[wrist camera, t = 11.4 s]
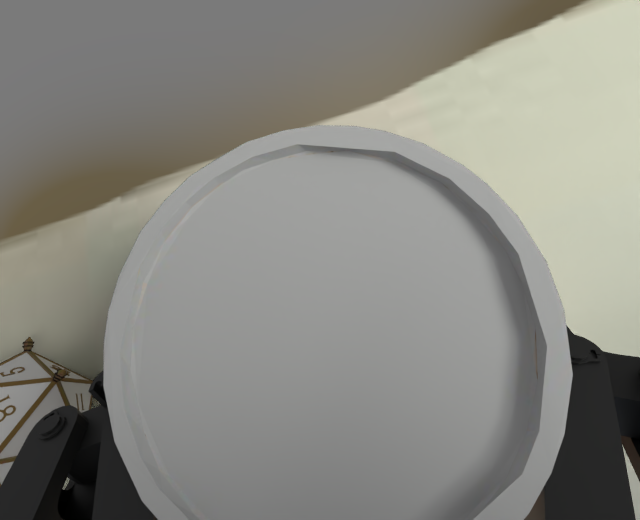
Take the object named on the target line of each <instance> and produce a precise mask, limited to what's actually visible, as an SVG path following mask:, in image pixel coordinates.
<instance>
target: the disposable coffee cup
mask: <svg viewBox="0 0 640 520" xmlns="http://www.w3.org/2000/svg"><path fill="white" fill-rule="evenodd" d="M572 377H573V372H572V364H571V357H570V349H569V342H568V335H567V327H566V320H565V312H564V308H563V305H562V303H561V300H560V297H559V294H558V292H557V289H556V286H555V284H554V281H553V278H552V275H551V273H550V270H549V267H548V264H547V262H546V260H545V258H544V257H543V255H542V254H541V252H540V250H539V249H538V247H537V246H536V244H535V243H534V241H533V239H532V238H531V236H530V235H529V233H528V231H527V230H526V228H525V227H524V225H523V223H522V222H521V220H520V219H519V217H518V215H517V214H516V213H515V212H514V211H513V210H512V209H511V208H510V207H509V206H508V205H507V204H506V203H505V202H504V201H503V200H502V199H501V198H500V197H499V196H498V195H497V194H496V193H495V192H494V191H493V190H492V189H491V188H490V186H489V185H488V184H486V183H485V182H484V181H483V180H481V179H480V178H479V177H478V176H476V175H475V174H474V173H472V172H471V171H470V170H469V169H467V168H466V167H465V166H464V165H462V164H460V163H458V162H456V161H455V160H453V159H451V158H449V157H447V156H445V155H444V154H442V153H440V152H438V151H436V150H435V149H433V148H431V147H429V146H427V145H425V144H424V143H420V142H417V141H414V140H411V139H408V138H405V137H402V136H399V135H396V134H393V133H389V132H386V131H382V130H376V129H370V128H364V127H357V126H330V125H317V126H310V127H303V128H297V129H290V130H284V131H280V132H277V133H274V134H271V135H268V136H265V137H261V138H258V139H255V140H252V141H249V142H246V143H244V144H242V145H240V146H239V147H237V148H235V149H233V150H232V151H230V152H228V153H226V154H224V155H222V156H221V157H219V158H217V159H216V160H214V161H213V162H211V163H210V164H208V165H206V166H205V167H203V168H202V169H200V170H199V171H197V172H195V173H194V174H192V175H191V176H190V177H188V178H187V179H186V180H185V181H184V182H183V183H182V184H181V185H180V186H179V187H178V188H177V189H176V190H175V191H174V192H173V193H172V194H171V195H170V196H169V197H168V198H167V199H166V200H165V201H164V202H163V203H162V205H161V206H160V207H159V208H158V210H157V211H156V212H155V213H154V215H153V216H152V217H151V219H150V220H149V221H148V222H147V224H146V225H145V226H144V228H143V229H142V230H141V232H140V234H139V236H138V238H137V240H136V242H135V244H134V246H133V248H132V250H131V252H130V254H129V256H128V258H127V260H126V262H125V264H124V266H123V268H122V270H121V272H120V275H119V277H118V281H117V284H116V287H115V291H114V294H113V297H112V300H111V304H110V307H109V310H108V317H107V324H106V331H105V338H104V381H103V386H104V392H105V397H106V402H107V407H108V412H109V417H110V422H111V427H112V432H113V437H114V442H115V444H116V446H117V448H118V451H119V453H120V455H121V457H122V459H123V461H124V464H125V466H126V468H127V470H128V472H129V474H130V476H131V479H132V481H133V483H134V485H135V487H136V489H137V492H138V494H139V496H140V498H141V500H142V502H143V503H144V504H145V505H146V506H147V507H148V509H149V510H150V511H151V512H152V513H153V514H154V516H155V517H156V518H157V519H158V520H524V519H525V517H526V516H527V515H528V514H529V513H530V511H531V509H532V507H533V506H534V504H535V502H536V500H537V498H538V496H539V495H540V493H541V491H542V489H543V487H544V486H545V484H546V482H547V480H548V478H549V476H550V475H551V473H552V470H553V467H554V464H555V461H556V458H557V455H558V452H559V449H560V446H561V443H562V440H563V437H564V434H565V427H566V420H567V413H568V406H569V399H570V391H571V384H572Z"/></svg>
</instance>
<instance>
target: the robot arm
mask: <svg viewBox="0 0 640 520" xmlns="http://www.w3.org/2000/svg"><path fill="white" fill-rule="evenodd" d="M566 327H567V325H566ZM567 335H568V342H569V349H570V357H571V364H572V372H573V377H572V384H571V391H570V399H569V406H568V413H567V420H566V427H565V434H564V437H563V440H562V443H561V446H560V449H559V452H558V455H557V458H556V461H555V464H554V467H553V470H552V473H551V475H550V476H549V478H548V480H547V482H546V484H545V486H544V487H543V489H542V491H541V493H540V495H539V496H538V498H537V500H536V502H535V504H534V506H533V507H532V509H531V511H530V513H529V514H528V515H527V516H526V517H525V519H524V520H636V519H635V514H634V508H633V502H632V497H631V491H630V486H629V480H628V475H627V469H626V463H625V458H624V452H623V447H624V449H625V451H626V453H627V455H628V457H629V459H630V462H631V464H632V466H633V468H634V470H635V472H636V475H637V477H638V479H639V481H640V358H639V357H632V356H625V355H618V354H612V353H608V352H603V351H602V350H601V349H600V348H599V347H598V346H596V345H595V344H594V343H592V342H591V341H589V340H587V339H585V338H583V337H580V336H577V335H574V334H573V333H572V332H571V331H570V329H569V328H568V327H567ZM103 381H104V371H102V372H101V373H100V374H99V375H98V376H97V377H96V378H95V380H94V381H93V382H92V383H91V386H90V388H89V391H88V392H89V393H90V394H91V395H92V396H93V397H94V398H95V399H96V400H97V401H98V402H99V403H100V404H101V405H100V406H98V407H95V408H93V409H90V410H87V411H85V412H82V413H81V412H80V411H79V410H78V409H77V408H76V407H73V406H71V405H68V406H62V407H59V408H57V409H54V410H53V411H51V412H50V413H48V414H47V415H45V416H44V417H43V418H42V419H41V420H40V421H39V422H37V423H36V424H35V426H34V427H33V429H32V430H31V431H30V433H29V435H28V436H27V438H26V440H25V442H24V444H23V446H22V448H21V449H20V451H19V453H18V455H17V457H16V459H15V461H14V462H13V464H12V466H11V468H10V470H9V472H8V473H7V475H6V477H5V479H4V481H3V483H2V485H1V486H0V520H158V519H157V518H156V517H155V516H154V514H153V513H152V512H151V511H150V510H149V509H148V507H147V506H146V505H145V504H144V503H143V502H142V500H141V498H140V496H139V494H138V492H137V489H136V487H135V485H134V483H133V481H132V479H131V476H130V474H129V472H128V470H127V468H126V466H125V464H124V461H123V459H122V457H121V455H120V453H119V451H118V448H117V446H116V444H115V442H114V437H113V432H112V427H111V422H110V417H109V412H108V407H107V402H106V397H105V392H104V386H103ZM622 444H623V447H622ZM67 477H68V478H69V479H70V480H69V483H68V485H67V487H66V488H65V490H63V489H62V488H63V486H64V483H65V481H66V478H67Z"/></svg>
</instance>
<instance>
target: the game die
mask: <svg viewBox="0 0 640 520" xmlns="http://www.w3.org/2000/svg"><path fill="white" fill-rule="evenodd" d="M23 344H24V346H22V347H24V352H22V353H20V354H18V355H16V356H14V357H12V358H10V359H8V360H6V361H4V362H2V363H0V486H1V485H2V483H3V481H4V479H5V477H6V475H7V473H8V472H9V470H10V468H11V466H12V464H13V462H14V461H15V459H16V457H17V455H18V453H19V451H20V449H21V448H22V446H23V444H24V442H25V440H26V438H27V436H28V435H29V433H30V431H31V430H32V429H33V427H34V426H35V424H36V423H37V422H39V421H40V420H41V419H42V418H43V417H44V416H45V415H47V414H48V413H50V412H51V411H53V410H54V409H57V408H59V407H62V406H68V405H71V406H73V407H76V408H77V409H78V410H79V411H80V412H81V413H82V412H85V411H87V410H90V409H91V404H92V397H93V396H92V395H91V394H90V393H89V392H88V391H89V388H90V386H91V383H92V382H93V381H94V380H95V379H94V380H93V381H92V380H90V379H88V378H86V377H84V376H82V375H80V374H78V373H75V372H73V371H71V370H69V369H67V368H65V367H63V366H61V365H59V364H57V363H55V362H53V361H51V360H49V359H47V358H45V357H43V356H41V355H39V354H36V353H34V352H32V351H31V348H32V347H33V346H34V345H33V344H34V342H33V341H32V339H31V337H29V338H28V339H27V340H26V341H25V342H23Z"/></svg>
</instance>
